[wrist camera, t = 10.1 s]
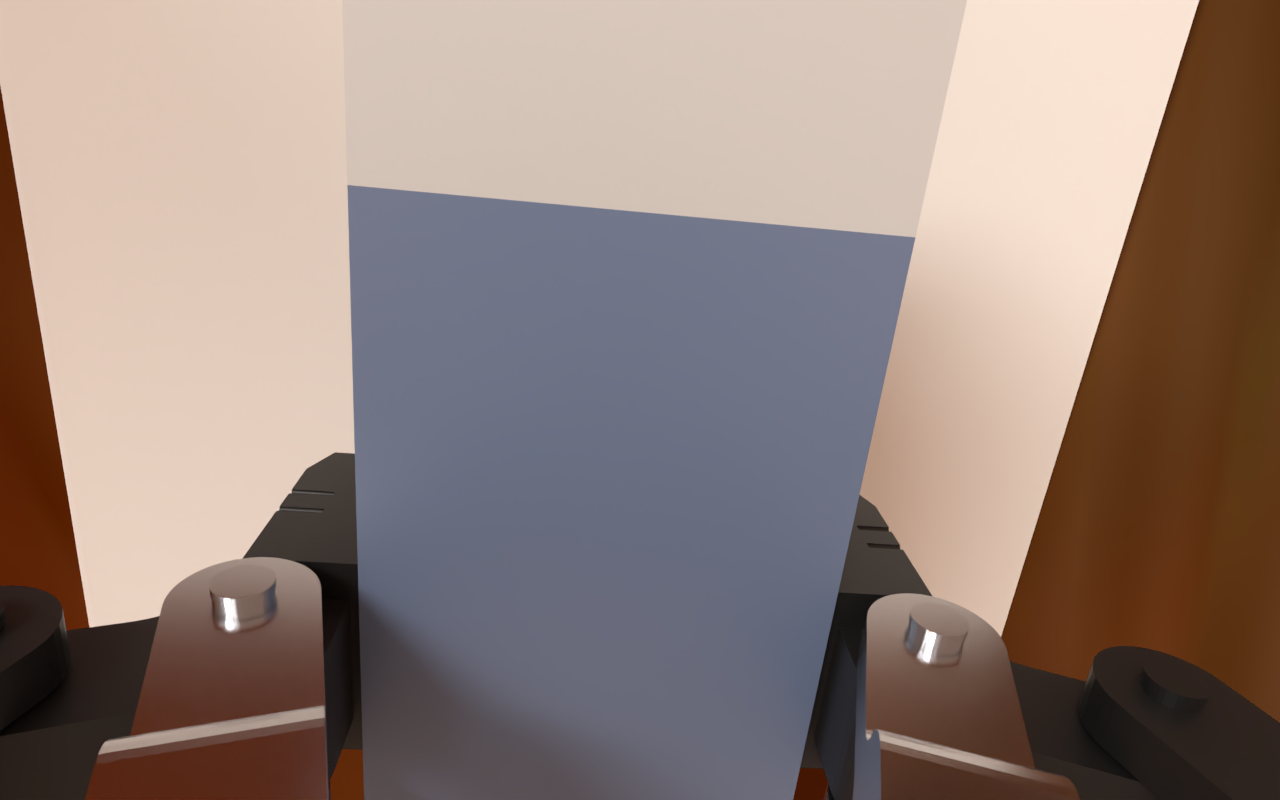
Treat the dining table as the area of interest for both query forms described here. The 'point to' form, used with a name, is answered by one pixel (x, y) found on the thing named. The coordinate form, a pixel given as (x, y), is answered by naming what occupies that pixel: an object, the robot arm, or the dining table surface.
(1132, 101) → the paper sheet
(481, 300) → the eraser
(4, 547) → the dining table surface
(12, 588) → the robot arm
